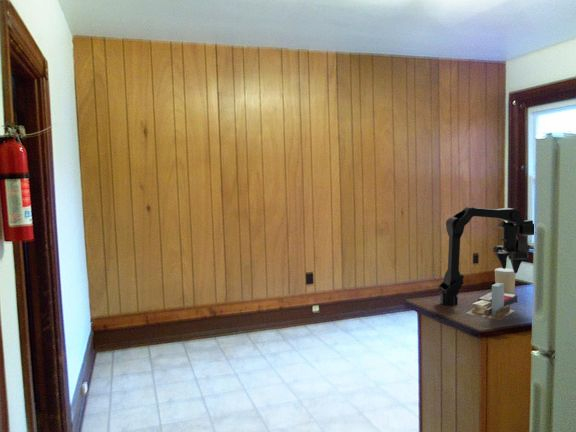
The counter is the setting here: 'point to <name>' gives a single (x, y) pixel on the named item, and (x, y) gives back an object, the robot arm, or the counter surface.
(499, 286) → the light blue brick
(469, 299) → the counter surface
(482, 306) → the offcut stack
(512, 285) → the coffee cup
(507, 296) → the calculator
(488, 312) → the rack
